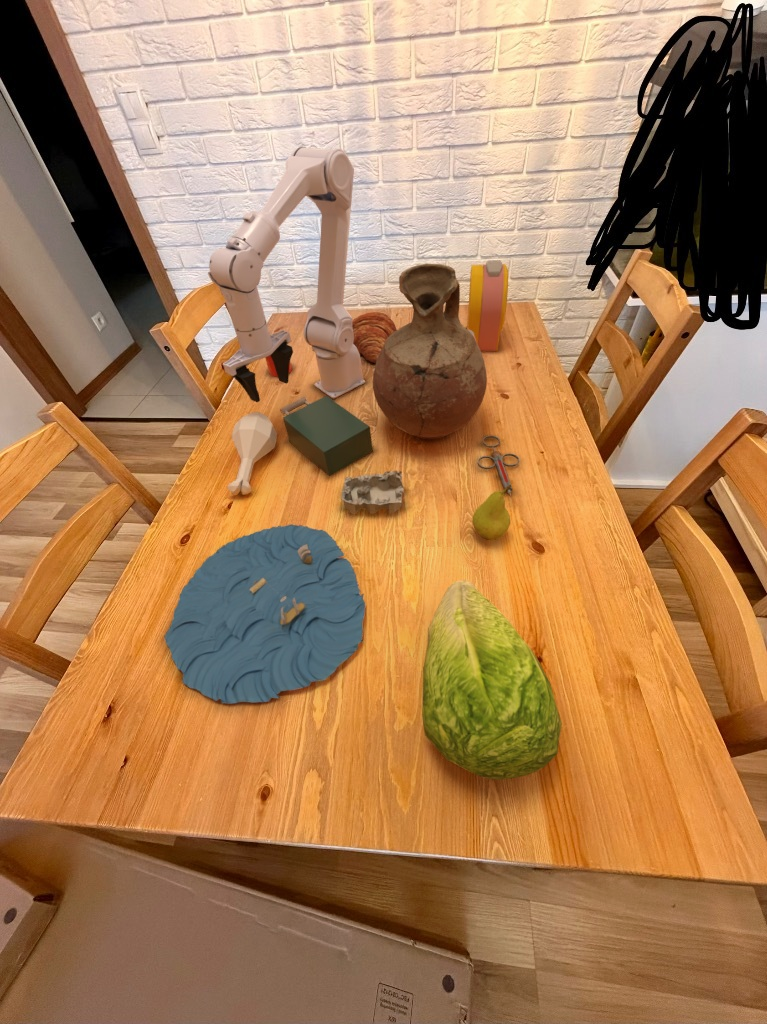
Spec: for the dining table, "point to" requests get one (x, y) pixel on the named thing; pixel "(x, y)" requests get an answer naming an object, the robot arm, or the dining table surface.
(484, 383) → the jug
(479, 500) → the dining table surface
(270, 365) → the drink tin
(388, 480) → the grey jagged hollow block
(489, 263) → the alarm clock
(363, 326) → the pastry
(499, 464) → the syringe
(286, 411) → the green drawer
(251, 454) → the chicken leg
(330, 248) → the robot arm
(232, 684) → the blue ocean wave diorama
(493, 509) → the fruit
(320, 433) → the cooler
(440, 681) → the lettuce
